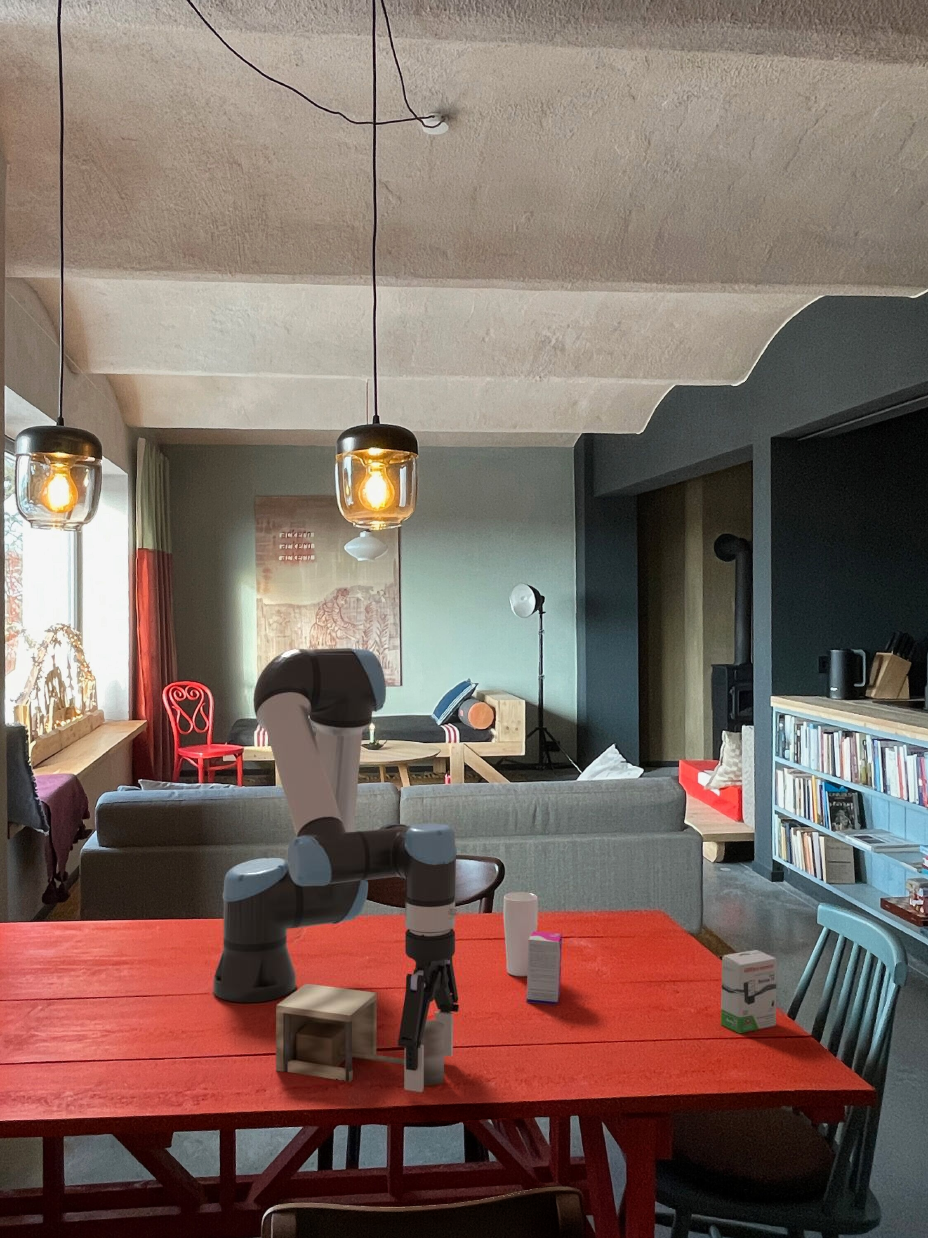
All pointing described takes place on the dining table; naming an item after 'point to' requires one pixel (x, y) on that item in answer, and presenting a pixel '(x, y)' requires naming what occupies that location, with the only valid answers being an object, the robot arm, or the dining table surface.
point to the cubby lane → (325, 1008)
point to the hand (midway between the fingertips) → (429, 1072)
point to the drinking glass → (519, 929)
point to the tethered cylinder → (329, 1050)
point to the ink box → (748, 991)
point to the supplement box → (544, 967)
